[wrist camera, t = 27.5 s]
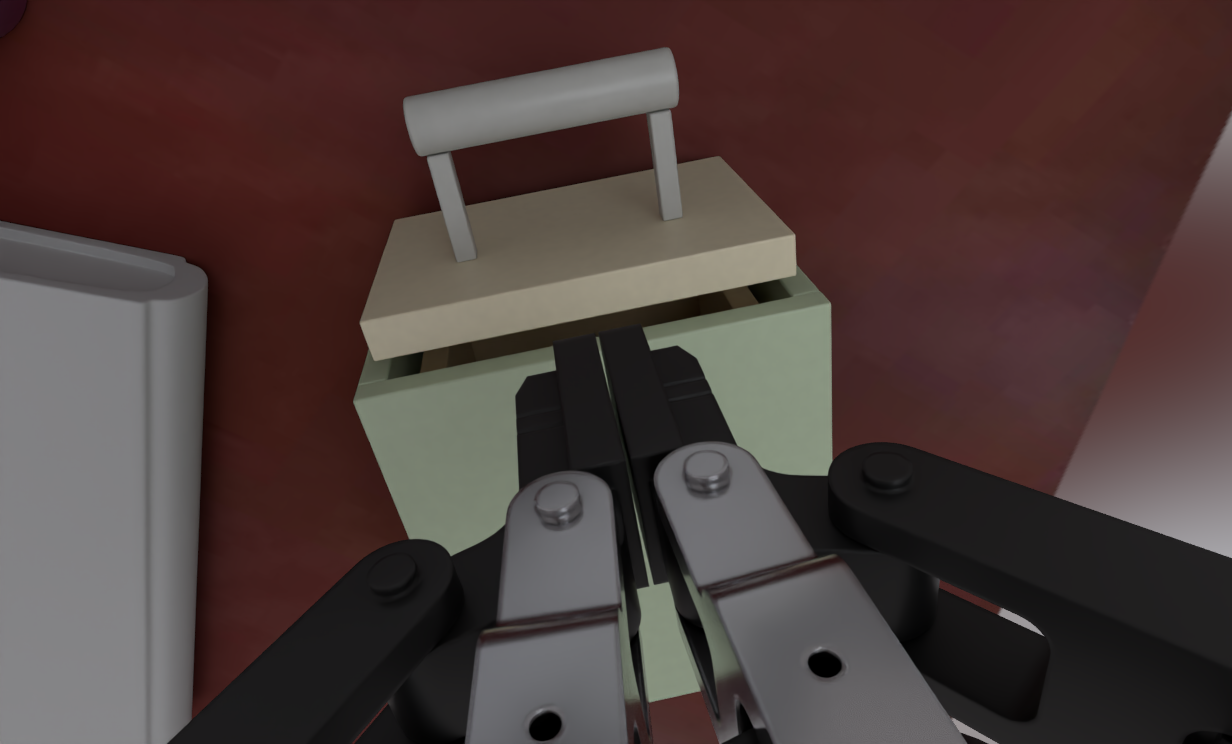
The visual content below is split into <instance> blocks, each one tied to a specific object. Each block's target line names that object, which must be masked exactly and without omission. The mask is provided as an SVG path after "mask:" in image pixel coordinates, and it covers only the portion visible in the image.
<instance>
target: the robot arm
mask: <svg viewBox="0 0 1232 744" xmlns="http://www.w3.org/2000/svg"><path fill="white" fill-rule="evenodd" d="M598 334H599V340H600V345H601V351H602V356H603V361H604V366H605V372H606V377H607V382H608V386H607V382H606V378H605V373H604V369H603V365H602V361H601V357H600V353H599V349H598V345H597V340H596V336H595V333H591V334H586V335H581V336H576V337H571V338H566V339H561V340H556V341H552V343H553V351H554V358H555V365H556V370H555V371H550V372H545V373H541V374H536V375H531V376H527V377H526V379H525V380H524V382H523V384H522V385H521V387H520V389H519V390H518V392H517V393H516V395H515V404H516V418H517V419H516V429H517V454H518V478H519V491H518V492H517V494H516V495H515V496H514V497H513V499H512V500H511V501H510V504H509V506H508V508H507V513H506V522H505V525H504V526H503V527H502V528H500V529H499V530H498V531H497V532H496V533H494V534H493V535H491V536H490V537H488V538H487V539H485V540H483V541H482V542H480V543H478V544H476V545H474V546H471V547H469V548H467V549H465V550H463V551H461V552H459V553H456V554H454V555H452V556H450V554H449V552H448V551H447V550H446V549H445V548H444V547H443V546H442V545H440V544H438V543H436V542H434V541H430V540H426V539H408V540H402V541H398V542H395V543H391V544H388V545H386V546H384V547H381V548H379V549H377V550H376V551H374V552H372V553H370V554H369V555H367V556H366V557H364V558H363V559H362V560H361V561H359V562H358V563H357V564H356V565H355V566H354V567H353V568H352V569H351V570H350V571H349V572H347V573H346V574H345V575H344V576H343V577H342V578H341V579H340V580H339V581H338V582H337V583H336V584H335V585H334V586H333V587H332V588H331V589H330V590H328V591H327V592H326V593H325V594H324V595H323V596H322V597H321V598H320V599H319V600H318V601H317V602H316V603H315V604H314V605H313V606H312V607H311V608H309V609H308V610H307V611H306V612H305V613H304V614H303V615H302V616H301V617H300V618H299V619H298V620H297V621H296V622H295V623H294V624H293V625H292V626H290V627H289V628H288V629H287V630H286V631H285V632H284V633H283V634H282V635H281V636H280V637H279V638H278V639H277V640H276V641H275V642H274V643H273V644H271V645H270V646H269V647H268V648H267V649H266V650H265V651H264V652H263V653H262V654H261V655H260V656H259V657H258V658H257V659H256V660H255V661H254V662H252V663H251V664H250V665H249V666H248V667H247V668H246V669H245V670H244V671H243V672H242V673H241V674H240V675H239V676H238V677H237V678H236V679H235V680H233V681H232V682H231V683H230V684H229V685H228V686H227V687H226V688H225V689H224V690H223V691H222V692H221V693H220V694H219V695H218V696H217V697H216V698H214V699H213V700H212V701H211V702H210V703H209V704H208V705H207V706H206V707H205V708H204V709H203V710H202V711H201V712H200V713H199V714H198V715H197V716H195V717H194V718H193V719H192V720H191V721H190V722H189V723H188V724H187V725H186V726H185V727H184V728H183V729H182V730H181V731H180V732H179V733H178V734H176V735H175V736H174V737H173V738H172V739H171V740H170V741H169V742H168V743H167V744H351V743H352V742H353V741H354V740H355V739H356V738H357V736H358V735H359V734H360V733H361V732H362V731H363V729H364V728H365V727H366V726H367V725H368V724H369V722H370V721H371V720H372V719H373V718H374V717H375V715H376V714H377V713H378V712H379V711H380V710H381V708H382V707H383V706H384V705H385V704H386V703H387V702H388V705H387V706H386V707H385V709H384V710H383V711H382V712H381V713H380V714H379V716H378V717H377V718H376V719H375V720H374V721H373V723H372V724H371V725H370V726H369V727H368V728H367V730H366V731H365V732H364V733H363V734H362V735H361V737H360V738H359V739H358V740H357V741H356V742H355V744H654V743H653V734H652V725H651V716H650V707H649V698H648V689H647V680H646V671H645V662H644V653H643V644H642V637H641V632H640V627H639V626H640V623H641V608H640V603H639V598H638V593H637V589H640V588H645V587H649V582H648V576H647V571H646V566H645V561H644V555H643V550H642V545H641V539H640V534H639V529H638V524H637V518H636V513H637V517H638V521H639V525H640V529H641V533H642V538H643V542H644V546H645V550H646V554H647V558H648V563H649V567H650V571H651V575H652V579H653V583H654V585H657V584H662V583H667V582H669V585H670V589H671V592H672V596H673V600H674V606H675V612H676V618H677V624H678V628H679V632H680V635H681V637H682V640H683V643H684V646H685V648H686V651H687V654H688V657H689V660H690V662H691V665H692V668H693V671H694V673H695V676H696V679H697V682H698V685H699V687H700V690H701V693H702V696H703V699H704V701H705V704H706V707H707V710H708V712H709V715H710V718H711V721H712V724H713V726H714V729H715V732H716V735H717V738H718V740H719V744H987V743H985V742H983V741H981V740H979V739H977V738H974V737H971V736H968V735H966V734H963V733H960V732H959V730H958V729H957V727H956V726H955V724H954V723H953V721H952V720H951V718H950V717H949V716H951V717H953V718H955V719H956V720H958V721H960V722H962V723H964V724H965V725H967V726H969V727H971V728H972V729H974V730H976V731H978V732H979V733H981V734H983V735H985V736H986V737H988V738H990V739H992V740H993V741H995V742H997V743H999V744H1232V558H1229V557H1226V556H1223V555H1221V554H1218V553H1215V552H1212V551H1209V550H1206V549H1204V548H1200V547H1198V546H1195V545H1192V544H1189V543H1186V542H1183V541H1181V540H1178V539H1175V538H1172V537H1169V536H1166V535H1163V534H1160V533H1158V532H1154V531H1152V530H1149V529H1146V528H1143V527H1140V526H1137V525H1134V524H1132V523H1129V522H1126V521H1123V520H1120V519H1117V518H1114V517H1111V516H1109V515H1106V514H1103V513H1100V512H1097V511H1094V510H1091V509H1089V508H1086V507H1082V506H1080V505H1077V504H1074V503H1071V502H1068V501H1066V500H1063V499H1060V498H1057V497H1054V496H1051V495H1048V494H1046V493H1043V492H1040V491H1037V490H1034V489H1031V488H1028V487H1025V486H1023V485H1020V484H1017V483H1014V482H1011V481H1008V480H1005V479H1002V478H1000V477H997V476H994V475H991V474H988V473H985V472H982V471H979V470H977V469H974V468H971V467H968V466H965V465H962V464H959V463H957V462H954V461H951V460H948V459H945V458H942V457H939V456H936V455H934V454H931V453H928V452H925V451H922V450H919V449H916V448H913V447H910V446H906V445H902V444H897V443H887V442H875V443H867V444H862V445H858V446H855V447H852V448H850V449H847V450H846V451H844V452H842V453H841V454H840V455H838V456H837V457H836V458H835V459H834V460H833V462H832V463H831V465H830V467H829V470H828V476H816V475H788V474H782V473H777V472H773V471H770V470H767V469H764V468H762V467H761V466H760V464H759V462H758V461H757V460H756V458H755V457H754V456H753V455H752V454H751V453H750V452H748V451H747V450H745V449H743V448H742V447H739V446H737V444H736V441H735V439H734V437H733V435H732V433H731V431H730V429H729V426H728V424H727V422H726V420H725V418H724V416H723V413H722V411H721V409H720V407H719V405H718V403H717V401H716V398H715V396H714V394H712V390H711V388H710V386H709V383H708V381H707V379H705V375H704V373H703V370H702V368H701V366H700V364H699V362H698V360H697V358H696V357H694V356H693V355H691V354H690V353H688V352H687V351H685V350H684V349H682V348H681V347H679V346H678V345H676V346H671V347H666V348H661V349H657V350H652V351H651V350H650V347H649V345H648V342H647V339H646V336H645V334H644V331H643V328H642V326H641V324H640V323H639V324H634V325H629V326H624V327H619V328H614V329H610V330H605V331H600V332H598ZM608 387H609V390H608ZM609 392H610V394H609ZM632 496H633V497H632ZM633 500H634V502H633ZM634 504H635V508H636V513H635V508H634ZM939 580H942V581H944V582H946V583H949V584H951V585H953V586H955V587H957V588H960V589H962V590H964V591H966V592H968V593H971V594H973V595H975V596H977V597H979V598H982V599H984V600H986V601H988V602H990V603H993V604H995V605H997V606H999V607H1001V608H1004V609H1006V610H1008V611H1010V612H1012V613H1015V614H1017V615H1019V616H1021V617H1023V618H1024V619H1026V620H1028V621H1029V622H1031V623H1032V624H1033V625H1034V626H1036V627H1037V628H1038V629H1039V630H1040V631H1041V633H1042V634H1043V635H1044V636H1045V637H1044V636H1042V635H1040V634H1038V633H1036V632H1033V631H1031V630H1029V629H1027V628H1025V627H1023V626H1021V625H1018V624H1016V623H1014V622H1012V621H1010V620H1008V619H1005V618H1003V617H1001V616H999V615H997V614H995V613H992V612H990V611H988V610H986V609H984V608H982V607H979V606H977V605H975V604H973V603H971V602H969V601H967V600H964V599H962V598H960V597H958V596H956V595H954V594H951V593H949V592H947V591H945V590H943V589H941V588H939Z"/></svg>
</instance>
